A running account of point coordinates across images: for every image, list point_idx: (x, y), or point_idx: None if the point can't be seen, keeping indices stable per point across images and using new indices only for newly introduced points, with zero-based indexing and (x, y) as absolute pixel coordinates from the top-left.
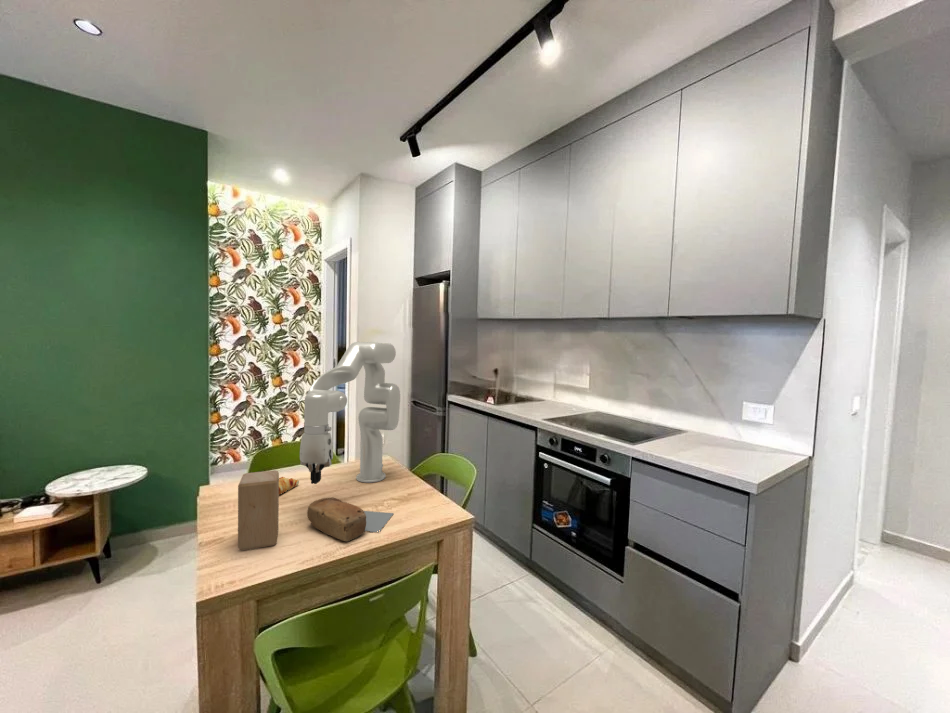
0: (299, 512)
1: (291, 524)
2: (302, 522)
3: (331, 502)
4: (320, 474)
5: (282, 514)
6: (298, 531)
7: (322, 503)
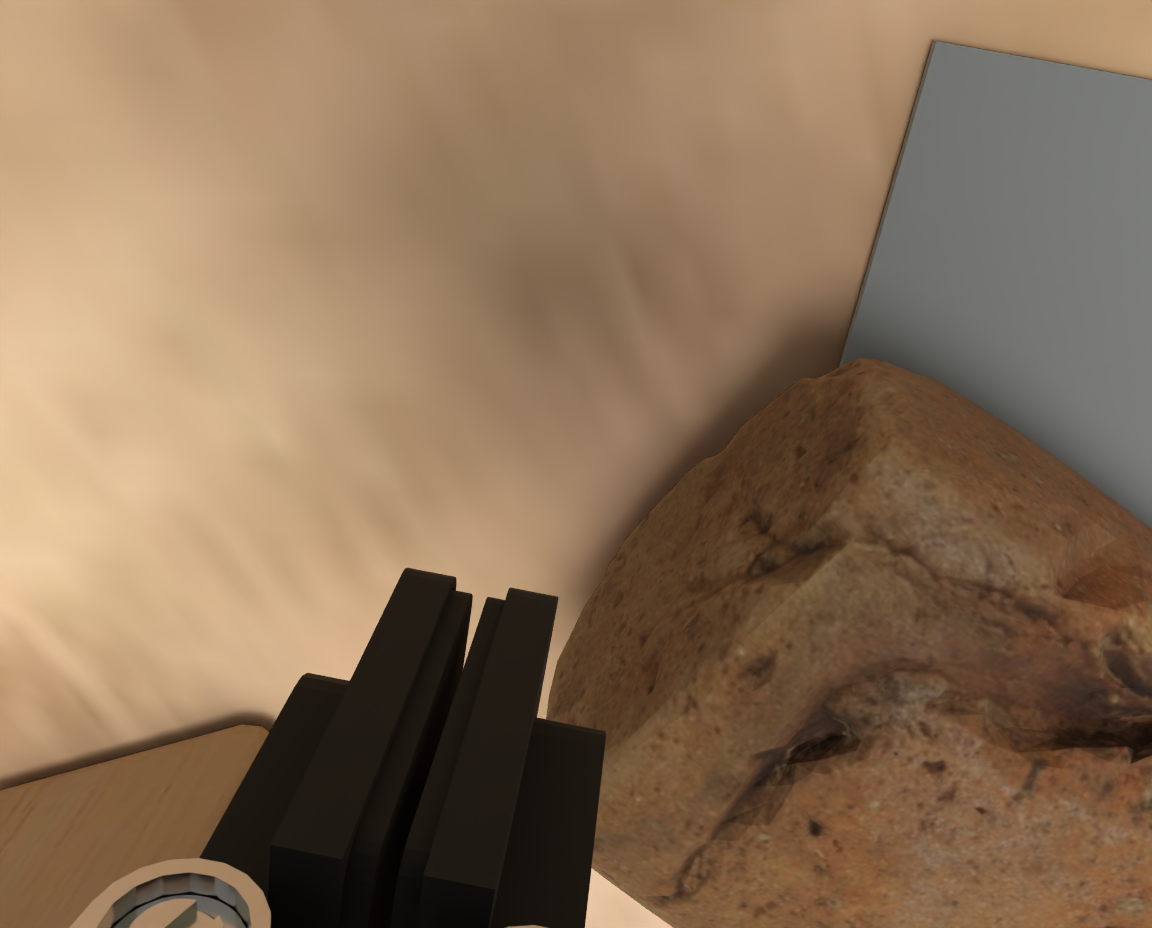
0: (247, 167)
1: (338, 553)
2: (457, 504)
3: (976, 868)
4: (584, 892)
5: (27, 243)
6: None
7: (809, 890)
